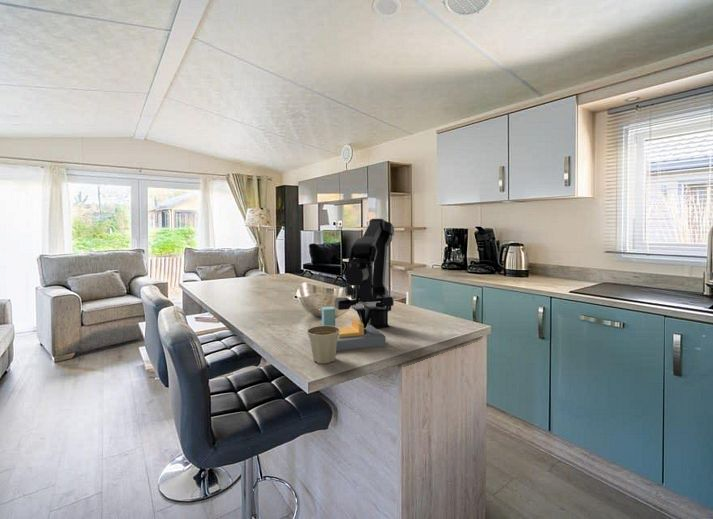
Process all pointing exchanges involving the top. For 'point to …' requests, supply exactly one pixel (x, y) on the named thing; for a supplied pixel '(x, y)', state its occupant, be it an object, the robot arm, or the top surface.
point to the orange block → (352, 329)
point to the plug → (328, 316)
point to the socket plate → (362, 340)
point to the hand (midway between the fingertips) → (364, 327)
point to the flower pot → (323, 342)
